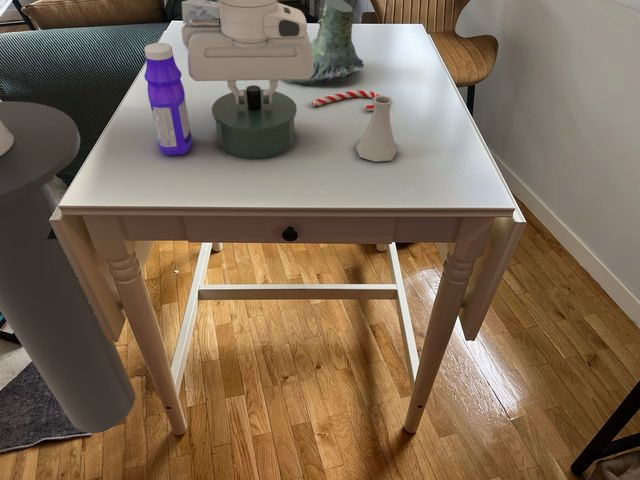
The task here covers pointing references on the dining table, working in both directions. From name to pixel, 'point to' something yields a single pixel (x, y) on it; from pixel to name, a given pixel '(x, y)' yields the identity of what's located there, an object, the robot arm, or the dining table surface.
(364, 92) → the candy cane
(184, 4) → the incense holder
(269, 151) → the bin
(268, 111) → the bin lid
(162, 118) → the bottle
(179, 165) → the dining table surface
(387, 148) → the flask
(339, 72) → the tree stump
